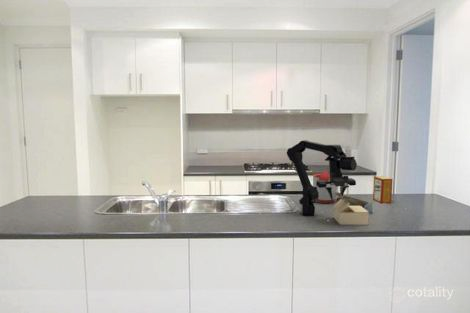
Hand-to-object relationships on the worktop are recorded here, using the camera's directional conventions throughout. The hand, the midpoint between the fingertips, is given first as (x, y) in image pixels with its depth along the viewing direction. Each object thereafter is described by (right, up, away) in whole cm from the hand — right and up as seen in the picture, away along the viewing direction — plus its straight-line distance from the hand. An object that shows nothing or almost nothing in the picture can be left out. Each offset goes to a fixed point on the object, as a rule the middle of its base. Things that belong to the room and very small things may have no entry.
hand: (336, 199), depth 158 cm
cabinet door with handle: (+3, -3, +1) cm, 5 cm away
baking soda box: (+42, -7, +39) cm, 58 cm away
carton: (+8, -12, +1) cm, 14 cm away
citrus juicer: (+5, -7, +39) cm, 40 cm away
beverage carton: (+17, -10, +21) cm, 29 cm away
